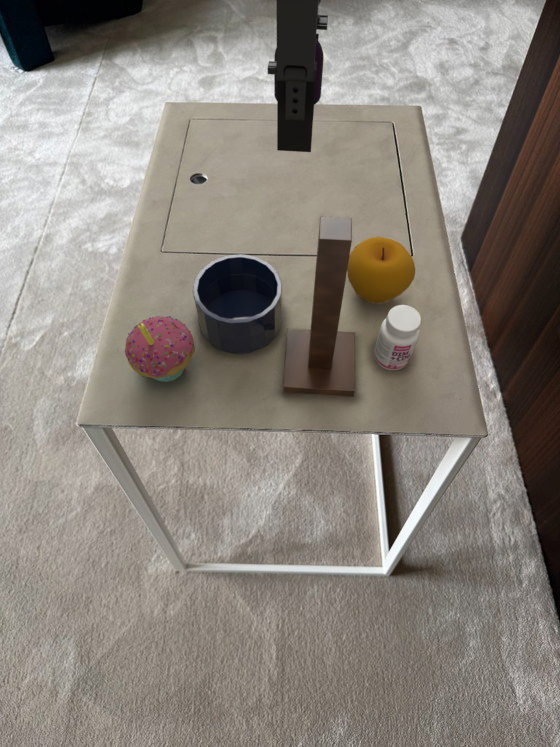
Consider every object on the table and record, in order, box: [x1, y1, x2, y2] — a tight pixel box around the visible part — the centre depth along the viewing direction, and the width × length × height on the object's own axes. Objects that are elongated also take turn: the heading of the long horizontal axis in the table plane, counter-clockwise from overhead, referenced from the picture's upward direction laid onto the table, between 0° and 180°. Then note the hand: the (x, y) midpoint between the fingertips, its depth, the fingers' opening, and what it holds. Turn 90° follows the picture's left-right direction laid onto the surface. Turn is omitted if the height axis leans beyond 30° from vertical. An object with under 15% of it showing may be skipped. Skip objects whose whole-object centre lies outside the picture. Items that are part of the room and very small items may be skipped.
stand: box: [282, 216, 356, 398], centre depth 61 cm, size 9×9×24 cm
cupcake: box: [124, 315, 196, 383], centre depth 66 cm, size 9×8×12 cm
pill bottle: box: [373, 304, 422, 371], centre depth 68 cm, size 5×5×8 cm
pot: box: [192, 253, 283, 355], centre depth 72 cm, size 11×11×7 cm
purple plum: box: [273, 38, 325, 106], centre depth 40 cm, size 4×4×5 cm
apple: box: [347, 236, 416, 305], centre depth 74 cm, size 9×9×9 cm
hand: (295, 131), depth 45 cm, fingers closed on purple plum, 4 cm apart
